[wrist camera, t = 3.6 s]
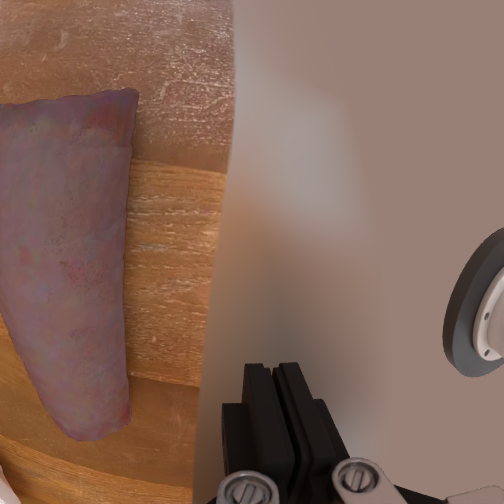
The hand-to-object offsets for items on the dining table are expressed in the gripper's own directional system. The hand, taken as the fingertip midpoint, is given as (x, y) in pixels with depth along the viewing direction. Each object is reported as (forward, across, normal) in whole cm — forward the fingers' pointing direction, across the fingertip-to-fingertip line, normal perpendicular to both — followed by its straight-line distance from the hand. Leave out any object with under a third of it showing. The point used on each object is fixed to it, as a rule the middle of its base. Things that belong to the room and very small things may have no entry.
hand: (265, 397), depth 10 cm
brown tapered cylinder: (+11, +11, 0) cm, 16 cm away
